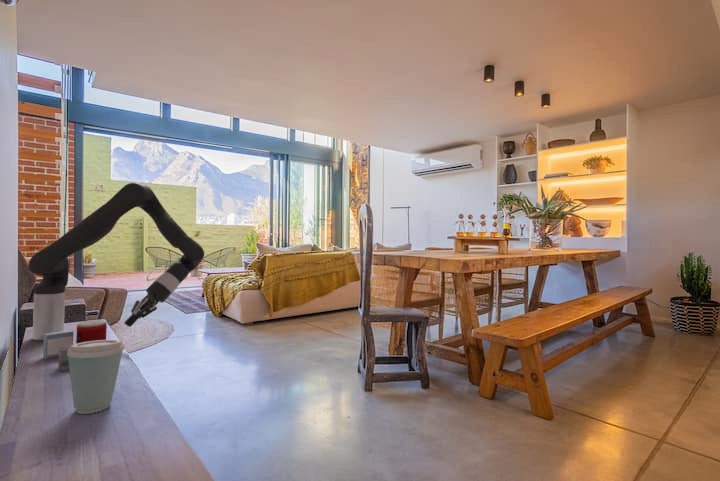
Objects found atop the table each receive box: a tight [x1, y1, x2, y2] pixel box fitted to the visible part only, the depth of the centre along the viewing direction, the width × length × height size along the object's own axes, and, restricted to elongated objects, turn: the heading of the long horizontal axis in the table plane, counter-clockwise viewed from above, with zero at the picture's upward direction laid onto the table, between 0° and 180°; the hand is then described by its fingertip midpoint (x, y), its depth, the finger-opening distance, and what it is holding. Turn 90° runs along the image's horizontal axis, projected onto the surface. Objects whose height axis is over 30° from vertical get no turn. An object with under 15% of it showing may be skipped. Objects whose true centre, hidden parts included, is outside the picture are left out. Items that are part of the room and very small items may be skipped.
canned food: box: [75, 319, 108, 344], centre depth 122 cm, size 8×8×11 cm
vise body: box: [58, 347, 70, 373], centre depth 111 cm, size 6×8×6 cm
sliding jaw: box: [42, 329, 74, 360], centre depth 123 cm, size 9×7×8 cm
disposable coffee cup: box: [67, 339, 125, 415], centre depth 84 cm, size 11×11×15 cm
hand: (127, 325), depth 130 cm, fingers closed
